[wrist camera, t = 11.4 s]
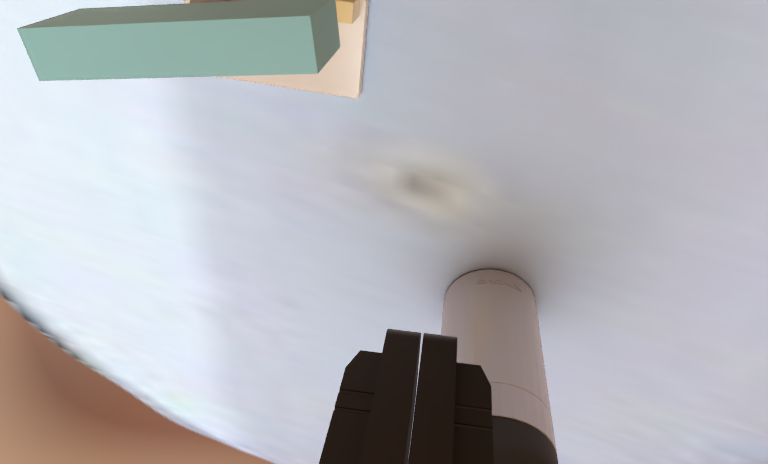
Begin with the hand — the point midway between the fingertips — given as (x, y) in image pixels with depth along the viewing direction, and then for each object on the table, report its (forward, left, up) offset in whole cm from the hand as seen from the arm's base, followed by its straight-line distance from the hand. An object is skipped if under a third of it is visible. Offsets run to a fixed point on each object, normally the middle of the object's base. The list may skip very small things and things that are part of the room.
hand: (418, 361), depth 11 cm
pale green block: (0, +14, -23) cm, 27 cm away
